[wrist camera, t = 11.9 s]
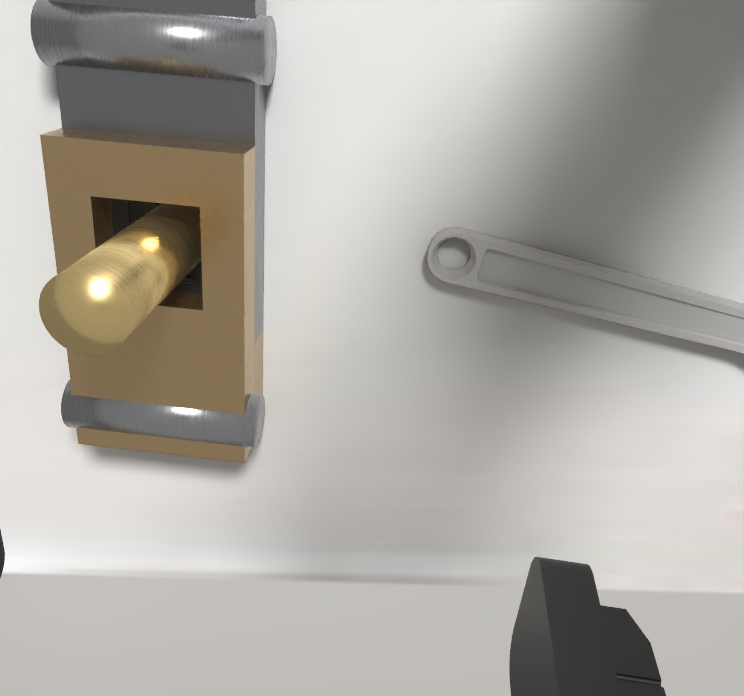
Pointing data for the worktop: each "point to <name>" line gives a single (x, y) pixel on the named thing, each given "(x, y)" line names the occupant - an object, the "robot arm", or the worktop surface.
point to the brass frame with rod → (169, 186)
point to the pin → (121, 280)
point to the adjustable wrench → (590, 290)
